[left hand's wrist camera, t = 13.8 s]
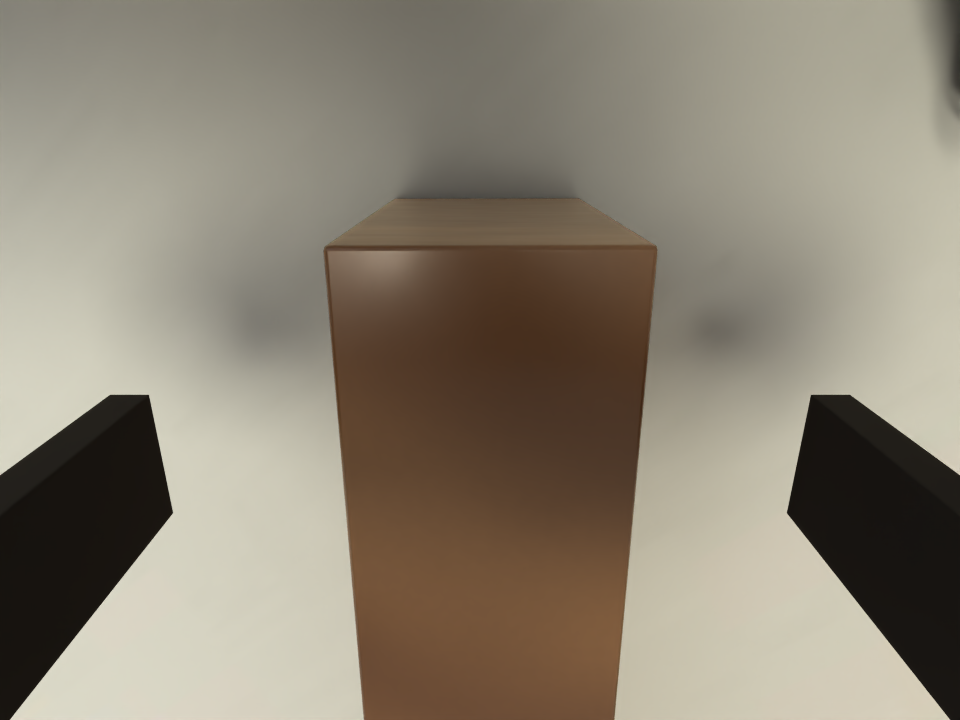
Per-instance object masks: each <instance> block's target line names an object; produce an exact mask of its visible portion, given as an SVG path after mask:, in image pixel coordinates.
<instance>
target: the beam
mask: <svg viewBox="0 0 960 720" xmlns="http://www.w3.org/2000/svg"><path fill="white" fill-rule="evenodd" d="M657 252H658V250H657V246H655V245H654V244H652V243H651V242H649V241H647V240H646V239H644V238H642V237H641V236H639V235H638V234H636V233H634V232H633V231H631V230H629V229H628V228H626V227H625V226H623V225H621V224H620V223H618V222H616V221H615V220H613V219H612V218H610V217H608V216H607V215H605V214H603V213H602V212H600V211H599V210H597V209H595V208H594V207H592V206H591V205H589V204H587V203H586V202H584V201H582V200H581V199H579V198H517V199H394V200H392V201H391V202H389V203H388V204H386V205H385V206H384V207H382V208H381V209H379V210H378V211H376V212H375V213H373V214H372V215H370V216H369V217H367V218H366V219H365V220H363V221H362V222H360V223H359V224H357V225H356V226H354V227H353V228H351V229H350V230H349V231H347V232H346V233H344V234H343V235H341V236H340V237H338V238H337V239H335V240H334V241H333V242H331V243H330V244H328V245H327V246H325V248H324V262H325V274H326V285H327V297H328V308H329V320H330V332H331V343H332V355H333V366H334V378H335V390H336V401H337V413H338V424H339V436H340V448H341V459H342V471H343V482H344V494H345V505H346V517H347V529H348V540H349V552H350V563H351V575H352V587H353V598H354V610H355V621H356V633H357V645H358V656H359V668H360V679H361V691H362V702H363V714H364V720H614V717H615V706H616V695H617V684H618V674H619V663H620V652H621V641H622V630H623V620H624V609H625V598H626V587H627V576H628V566H629V555H630V544H631V533H632V522H633V512H634V501H635V490H636V479H637V468H638V458H639V447H640V436H641V425H642V414H643V404H644V393H645V382H646V371H647V360H648V349H649V339H650V328H651V317H652V306H653V295H654V285H655V274H656V263H657Z"/></svg>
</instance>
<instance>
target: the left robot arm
mask: <svg viewBox="0 0 960 720" xmlns="http://www.w3.org/2000/svg"><path fill="white" fill-rule="evenodd" d="M172 514H173V510H172V506H171V501H170V496H169V491H168V486H167V481H166V476H165V471H164V466H163V462H162V457H161V452H160V447H159V442H158V437H157V432H156V427H155V423H154V418H153V413H152V408H151V403H150V398H149V395H109V396H108V397H107V398H105V399H104V400H103V401H101V402H100V403H98V404H97V405H96V406H94V407H93V408H92V409H90V410H89V411H88V412H86V413H85V414H83V415H82V416H81V417H79V418H78V419H77V420H75V421H74V422H72V423H71V424H70V425H68V426H67V427H66V428H64V429H63V430H62V431H60V432H59V433H57V434H56V435H55V436H53V437H52V438H51V439H49V440H48V441H46V442H45V443H44V444H42V445H41V446H40V447H38V448H37V449H36V450H34V451H33V452H31V453H30V454H29V455H27V456H26V457H25V458H23V459H22V460H21V461H19V462H18V463H16V464H15V465H14V466H12V467H11V468H10V469H8V470H7V471H5V472H4V473H3V474H1V475H0V720H10V719H11V717H12V716H13V715H14V714H15V712H16V711H17V710H18V709H19V707H20V706H21V705H22V704H23V702H24V701H25V700H26V698H27V697H28V696H29V695H30V693H31V692H32V691H33V690H34V688H35V687H36V686H37V685H38V683H39V682H40V681H41V680H42V678H43V677H44V676H45V674H46V673H47V672H48V671H49V669H50V668H51V667H52V666H53V664H54V663H55V662H56V661H57V659H58V658H59V657H60V655H61V654H62V653H63V652H64V650H65V649H66V648H67V647H68V645H69V644H70V643H71V642H72V640H73V639H74V638H75V636H76V635H77V634H78V633H79V631H80V630H81V629H82V628H83V626H84V625H85V624H86V623H87V621H88V620H89V619H90V617H91V616H92V615H93V614H94V612H95V611H96V610H97V609H98V607H99V606H100V605H101V604H102V602H103V601H104V600H105V598H106V597H107V596H108V595H109V593H110V592H111V591H112V590H113V588H114V587H115V586H116V585H117V583H118V582H119V581H120V580H121V578H122V577H123V576H124V574H125V573H126V572H127V571H128V569H129V568H130V567H131V566H132V564H133V563H134V562H135V561H136V559H137V558H138V557H139V555H140V554H141V553H142V552H143V550H144V549H145V548H146V547H147V545H148V544H149V543H150V542H151V540H152V539H153V538H154V536H155V535H156V534H157V533H158V531H159V530H160V529H161V528H162V526H163V525H164V524H165V523H166V521H167V520H168V519H169V517H170V516H171V515H172ZM787 514H788V515H789V516H790V517H791V519H792V520H793V521H794V523H795V524H796V525H797V526H798V528H799V529H800V530H801V531H802V533H803V534H804V535H805V536H806V538H807V539H808V540H809V542H810V543H811V544H812V545H813V547H814V548H815V549H816V550H817V552H818V553H819V554H820V555H821V557H822V558H823V559H824V561H825V562H826V563H827V564H828V566H829V567H830V568H831V569H832V571H833V572H834V573H835V574H836V576H837V577H838V578H839V580H840V581H841V582H842V583H843V585H844V586H845V587H846V588H847V590H848V591H849V592H850V593H851V595H852V596H853V597H854V598H855V600H856V601H857V602H858V604H859V605H860V606H861V607H862V609H863V610H864V611H865V612H866V614H867V615H868V616H869V617H870V619H871V620H872V621H873V623H874V624H875V625H876V626H877V628H878V629H879V630H880V631H881V633H882V634H883V635H884V636H885V638H886V639H887V640H888V642H889V643H890V644H891V645H892V647H893V648H894V649H895V650H896V652H897V653H898V654H899V655H900V657H901V658H902V659H903V661H904V662H905V663H906V664H907V666H908V667H909V668H910V669H911V671H912V672H913V673H914V674H915V676H916V677H917V678H918V680H919V681H920V682H921V683H922V685H923V686H924V687H925V688H926V690H927V691H928V692H929V693H930V695H931V696H932V697H933V698H934V700H935V701H936V702H937V704H938V705H939V706H940V707H941V709H942V710H943V711H944V712H945V714H946V715H947V716H948V717H949V719H950V720H960V475H959V474H957V473H956V472H955V471H953V470H952V469H950V468H949V467H948V466H946V465H945V464H944V463H942V462H941V461H939V460H938V459H937V458H935V457H934V456H933V455H931V454H930V453H929V452H927V451H926V450H924V449H923V448H922V447H920V446H919V445H918V444H916V443H915V442H914V441H912V440H911V439H909V438H908V437H907V436H905V435H904V434H903V433H901V432H900V431H898V430H897V429H896V428H894V427H893V426H892V425H890V424H889V423H888V422H886V421H885V420H883V419H882V418H881V417H879V416H878V415H877V414H875V413H874V412H872V411H871V410H870V409H868V408H867V407H866V406H864V405H863V404H862V403H860V402H859V401H857V400H856V399H855V398H853V397H852V396H851V395H811V398H810V403H809V408H808V413H807V418H806V423H805V427H804V432H803V437H802V442H801V447H800V452H799V457H798V462H797V466H796V471H795V476H794V481H793V486H792V491H791V496H790V501H789V506H788V510H787Z"/></svg>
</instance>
